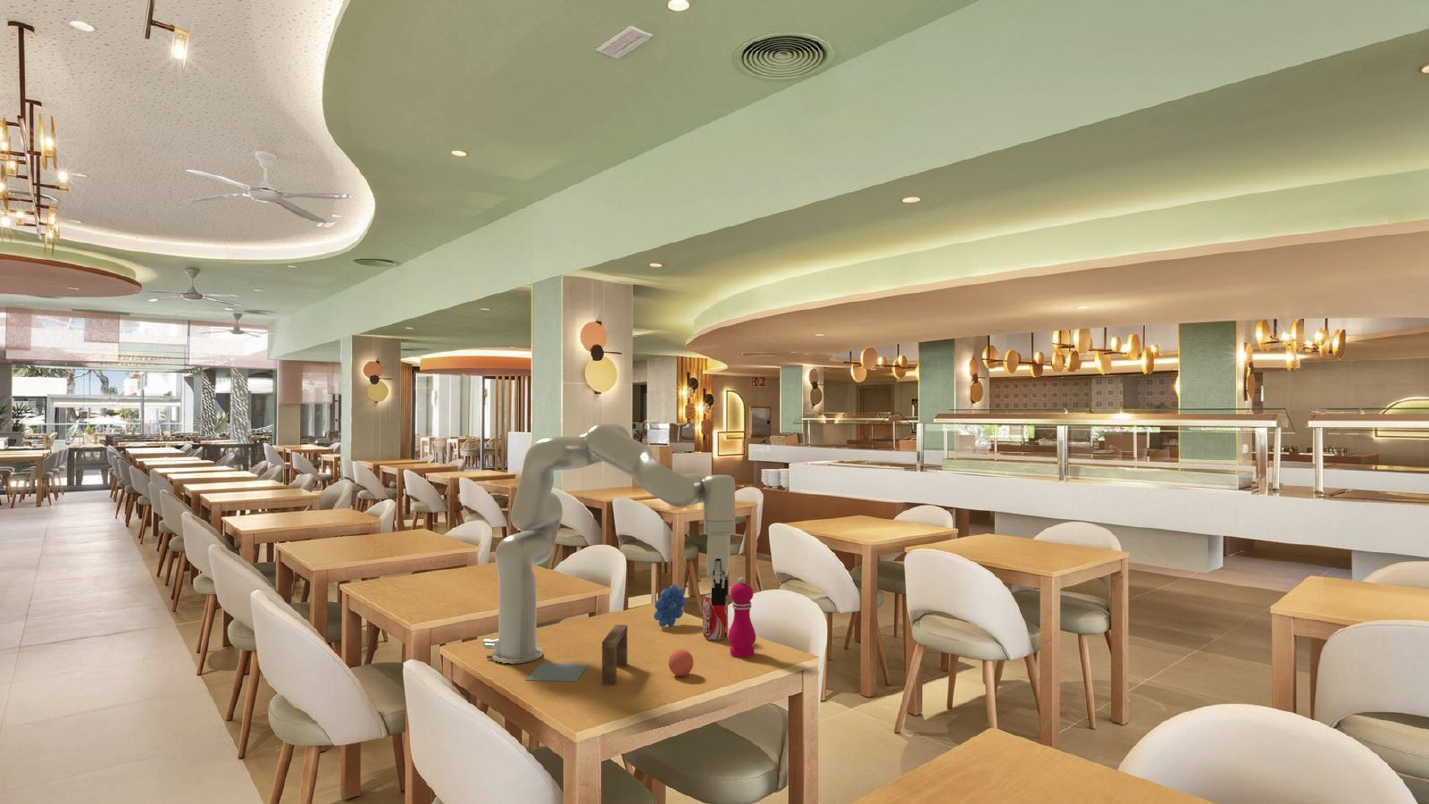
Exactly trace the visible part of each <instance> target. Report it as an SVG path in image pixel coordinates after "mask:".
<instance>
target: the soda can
mask: <svg viewBox="0 0 1429 804" xmlns="http://www.w3.org/2000/svg"><path fill="white" fill-rule="evenodd" d="M728 603H729V602H728V599H727V598H726V604H725V605H724V606H718V605H712V592H711V593H710V592H709V593H706V594H705V597H704V599H703V602H702V633H703V637H704V638H706V640H708V641H713V642H716V641H717V642H718V641H722V640H724V639H725V638H728V634H729V605H728Z"/></svg>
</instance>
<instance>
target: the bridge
mask: <svg viewBox="0 0 1429 804" xmlns="http://www.w3.org/2000/svg"><path fill="white" fill-rule="evenodd" d="M627 665H628V624H615V625H613V628H611V630H610V631H609V632H608V634H607V635H606V636H605V638H604V639H603V641H602V642H601V685H605V686H607V685H608V686H615V685H616V683H617V678H618V676H617V675H618V674H617V669H618V667H627Z"/></svg>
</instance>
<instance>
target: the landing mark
mask: <svg viewBox="0 0 1429 804" xmlns="http://www.w3.org/2000/svg"><path fill="white" fill-rule="evenodd" d="M588 667H589V663H565V662H564V663H561V662H559V663H557V662H556V663H555V662H541V663H540V664H539V665H538V666H537V667H536V668H535V669H534V671H532V672H531V674H530V675H529V676H528V677H527V678H526V679H525V681H529V680H530V681H531V680H532V681H534V682H535V681H537V682H542V681H543V682H575V683H576V682H577V681H578V680H579V678H580V677H581V675H582V674H583V673H584V672H585V671H586V669H587V668H588ZM530 681H529V682H530Z"/></svg>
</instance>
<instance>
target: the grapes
mask: <svg viewBox="0 0 1429 804" xmlns="http://www.w3.org/2000/svg"><path fill="white" fill-rule="evenodd" d="M684 596H685V590H684V589H683V588H682V587H678V585H676V584H672V585H670V587H669V588H664V589H662V591H661V592H660V598H658V599H657V600H656V601H655V603H654V608H655V609H656V611H655V612H654V614H653V617H654V620H655V621H658V625H659V627H661V628H663V627H664V628H665V627H666V626H668V627H672V626H674V625H675V623H676V621H677V619H680V618H682V616H683V614H684V610H683V608H684V607H685V606H686V603H687V599H686V597H684Z"/></svg>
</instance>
